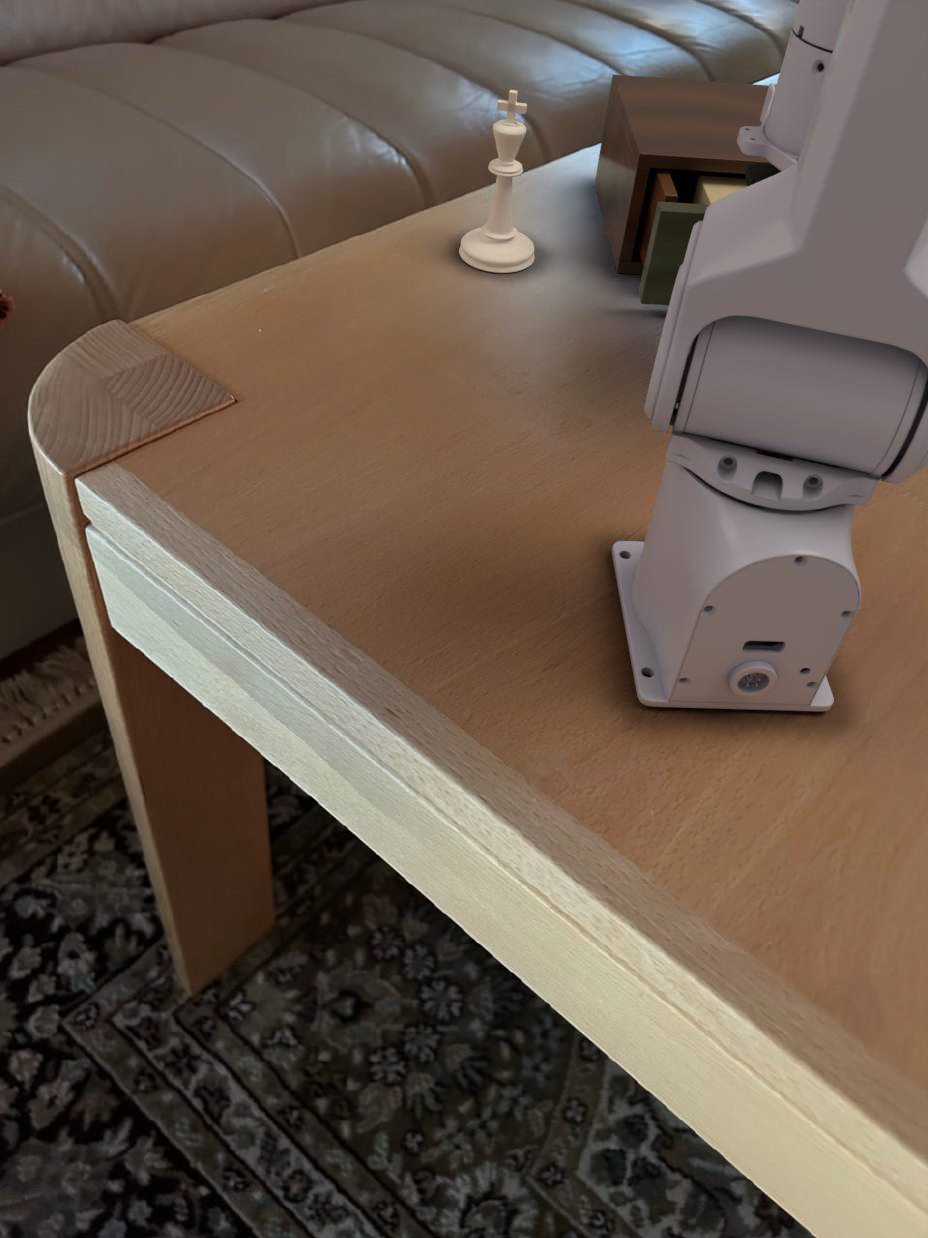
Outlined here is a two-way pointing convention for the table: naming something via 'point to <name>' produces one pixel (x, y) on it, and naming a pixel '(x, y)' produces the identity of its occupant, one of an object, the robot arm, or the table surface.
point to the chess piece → (501, 203)
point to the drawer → (668, 228)
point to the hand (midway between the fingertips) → (768, 311)
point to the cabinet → (666, 144)
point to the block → (716, 188)
